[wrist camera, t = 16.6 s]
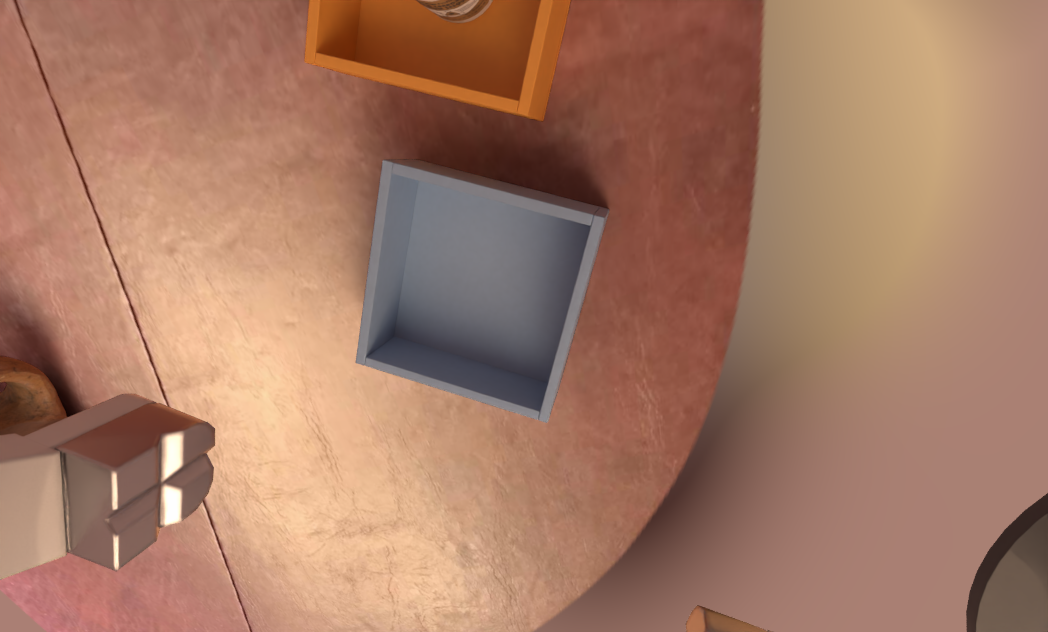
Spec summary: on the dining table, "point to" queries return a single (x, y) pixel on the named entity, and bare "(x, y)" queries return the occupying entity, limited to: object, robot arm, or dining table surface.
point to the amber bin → (444, 49)
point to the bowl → (26, 399)
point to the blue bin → (476, 284)
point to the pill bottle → (457, 9)
